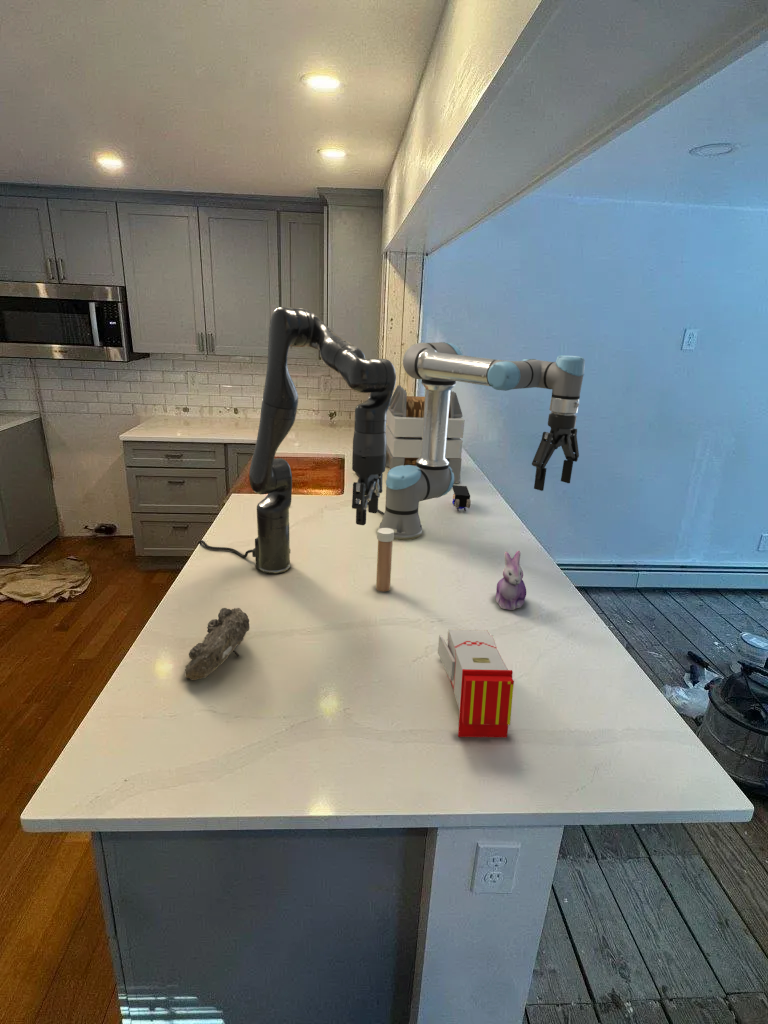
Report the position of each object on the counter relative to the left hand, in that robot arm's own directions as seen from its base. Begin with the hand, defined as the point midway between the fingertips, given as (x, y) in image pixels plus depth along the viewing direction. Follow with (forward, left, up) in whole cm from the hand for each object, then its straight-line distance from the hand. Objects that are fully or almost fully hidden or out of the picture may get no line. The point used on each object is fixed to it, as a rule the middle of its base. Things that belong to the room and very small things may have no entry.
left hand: (367, 518), depth 132 cm
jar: (-2, +20, -28) cm, 35 cm away
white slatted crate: (-23, +141, -28) cm, 146 cm away
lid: (-2, +20, -11) cm, 23 cm away
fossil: (-25, -24, -28) cm, 45 cm away
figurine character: (+5, +99, -28) cm, 103 cm away
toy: (+30, -17, -28) cm, 44 cm away
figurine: (+33, +26, -28) cm, 51 cm away
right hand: (+40, +49, 0) cm, 63 cm away
